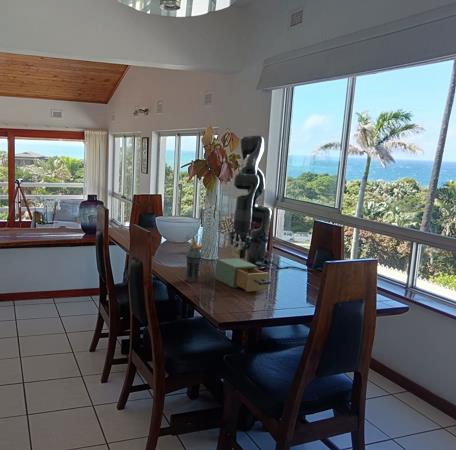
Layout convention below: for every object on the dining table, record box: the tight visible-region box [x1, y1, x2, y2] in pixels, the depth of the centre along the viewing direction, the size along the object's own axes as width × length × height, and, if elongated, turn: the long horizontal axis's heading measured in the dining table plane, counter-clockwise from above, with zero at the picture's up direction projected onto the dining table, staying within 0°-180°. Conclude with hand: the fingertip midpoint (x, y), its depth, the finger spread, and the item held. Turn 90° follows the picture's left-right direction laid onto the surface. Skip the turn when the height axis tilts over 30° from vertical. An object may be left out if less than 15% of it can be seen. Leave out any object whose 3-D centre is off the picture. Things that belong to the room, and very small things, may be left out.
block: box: [231, 245, 247, 260], centre depth 204 cm, size 4×4×4 cm
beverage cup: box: [185, 238, 203, 283], centre depth 212 cm, size 7×7×20 cm
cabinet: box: [214, 257, 257, 288], centre depth 216 cm, size 15×13×10 cm
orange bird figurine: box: [184, 234, 203, 251], centre depth 273 cm, size 7×18×11 cm, turn 84°
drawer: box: [235, 268, 271, 293], centre depth 205 cm, size 18×11×8 cm, turn 26°
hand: (238, 256), depth 204 cm, fingers closed on block, 4 cm apart
